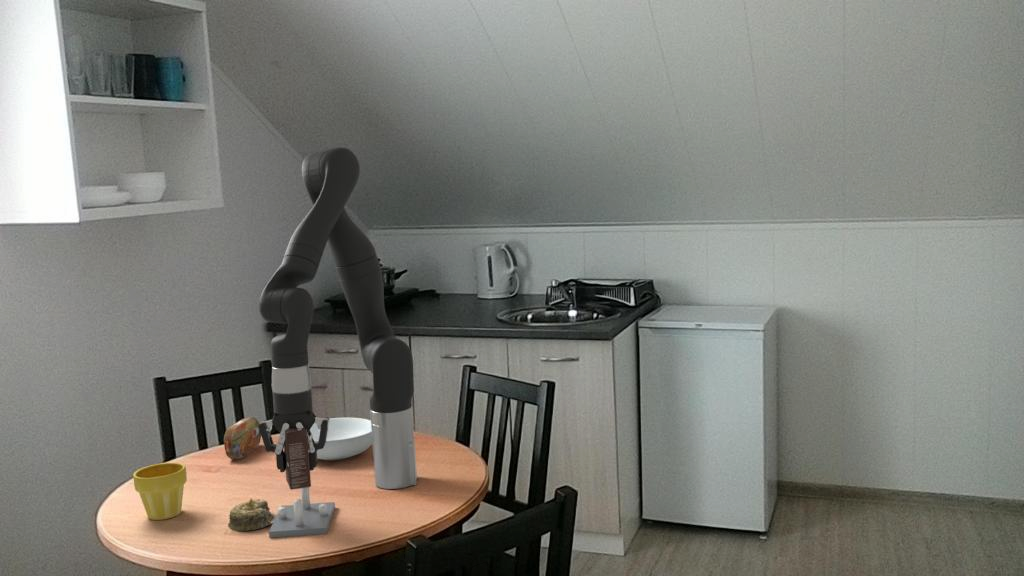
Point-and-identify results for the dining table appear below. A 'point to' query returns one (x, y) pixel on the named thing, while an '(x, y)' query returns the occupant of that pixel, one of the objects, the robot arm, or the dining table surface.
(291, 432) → the box
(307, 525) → the pin tray
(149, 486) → the plant pot
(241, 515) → the sea snail shell
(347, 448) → the serving bowl
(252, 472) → the dining table surface
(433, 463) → the dining table surface
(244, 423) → the tin
